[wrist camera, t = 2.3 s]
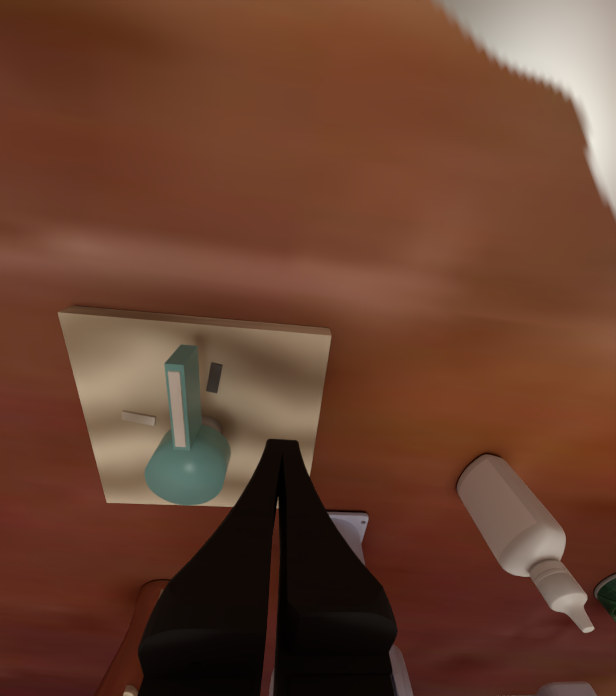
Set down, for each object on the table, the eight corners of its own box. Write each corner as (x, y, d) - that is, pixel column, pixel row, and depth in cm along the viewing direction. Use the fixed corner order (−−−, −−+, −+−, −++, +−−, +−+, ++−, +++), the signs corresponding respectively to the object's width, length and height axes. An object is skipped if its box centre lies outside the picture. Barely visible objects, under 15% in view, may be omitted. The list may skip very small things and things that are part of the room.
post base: (304, 495, 29) (305, 529, 26) (115, 488, 28) (92, 524, 24) (329, 327, 22) (335, 347, 19) (73, 305, 20) (32, 322, 17)
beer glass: (124, 584, 34) (12, 830, 20) (180, 572, 34) (102, 816, 20) (153, 613, 37) (71, 846, 23) (204, 602, 36) (151, 834, 23)
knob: (231, 477, 22) (223, 508, 20) (164, 474, 22) (148, 506, 20) (231, 348, 18) (221, 369, 15) (146, 341, 17) (123, 362, 15)
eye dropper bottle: (442, 476, 29) (532, 634, 18) (493, 446, 28) (624, 598, 17) (463, 497, 30) (557, 656, 19) (512, 470, 29) (644, 624, 18)
